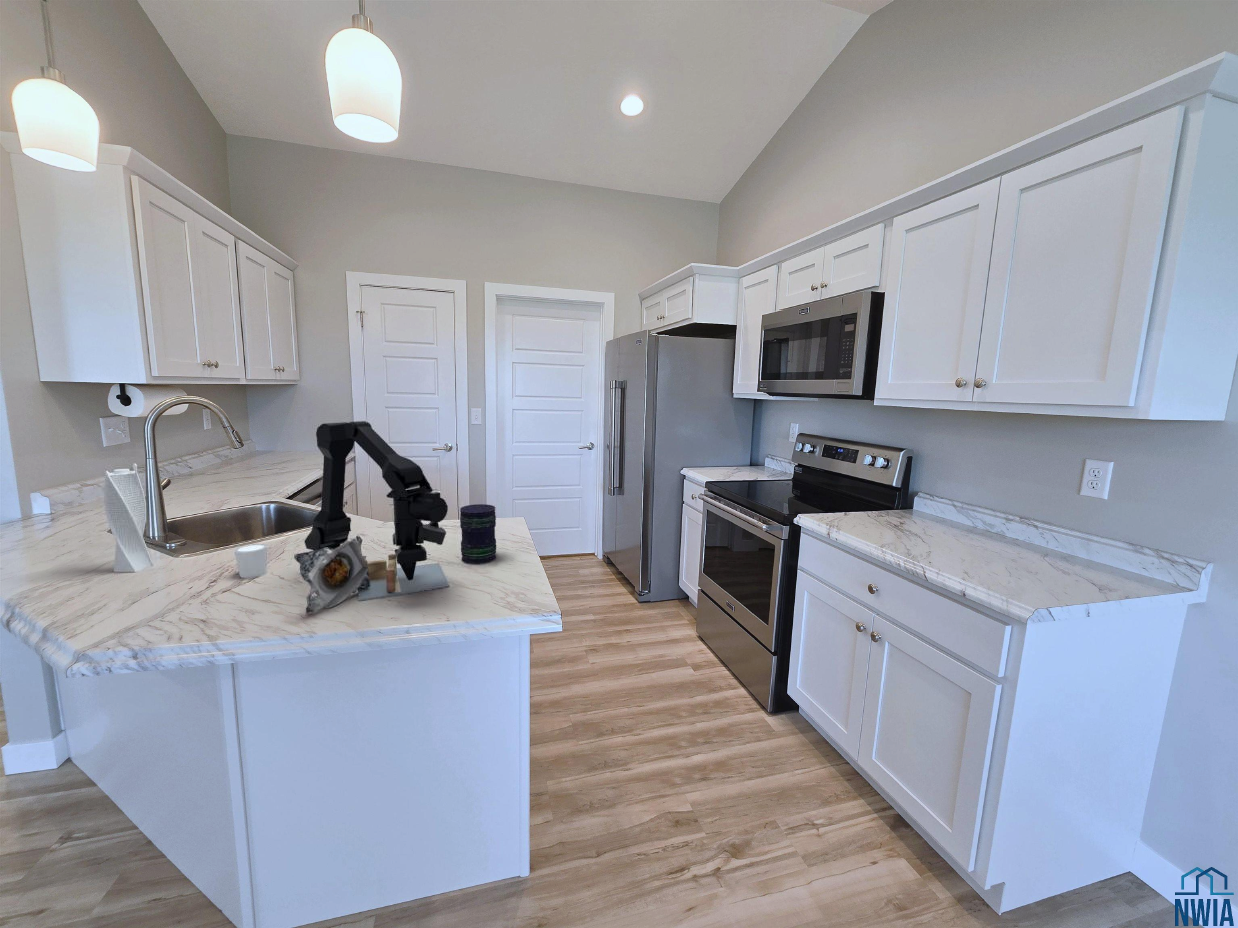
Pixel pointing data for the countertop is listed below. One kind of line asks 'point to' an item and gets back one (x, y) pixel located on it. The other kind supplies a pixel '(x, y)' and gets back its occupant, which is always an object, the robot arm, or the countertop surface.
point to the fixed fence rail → (377, 569)
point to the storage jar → (478, 533)
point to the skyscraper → (127, 519)
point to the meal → (333, 573)
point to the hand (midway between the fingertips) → (410, 579)
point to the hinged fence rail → (391, 573)
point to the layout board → (407, 583)
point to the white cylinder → (251, 560)
